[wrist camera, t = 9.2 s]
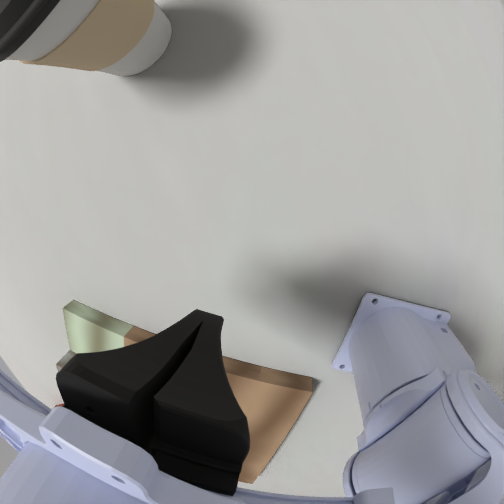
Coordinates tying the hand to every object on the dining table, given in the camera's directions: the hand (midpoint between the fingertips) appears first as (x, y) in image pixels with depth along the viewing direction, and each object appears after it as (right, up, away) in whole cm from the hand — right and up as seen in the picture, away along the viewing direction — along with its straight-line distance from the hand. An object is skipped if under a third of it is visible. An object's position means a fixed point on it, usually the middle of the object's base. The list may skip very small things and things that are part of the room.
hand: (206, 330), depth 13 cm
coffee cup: (-8, +21, +4) cm, 23 cm away
